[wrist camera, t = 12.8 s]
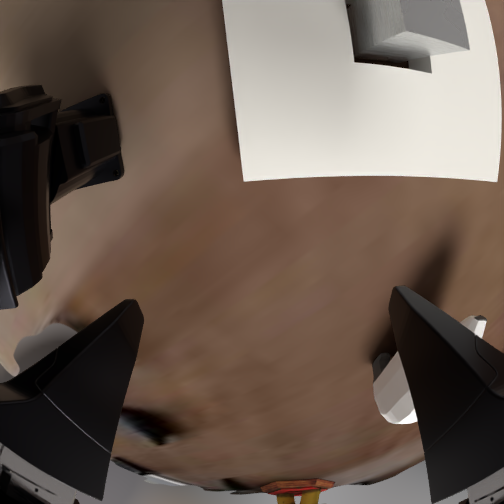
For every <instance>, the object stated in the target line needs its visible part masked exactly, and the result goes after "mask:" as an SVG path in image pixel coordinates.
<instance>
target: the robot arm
mask: <svg viewBox="0 0 504 504" xmlns="http://www.w3.org/2000/svg"><path fill="white" fill-rule="evenodd" d="M103 98H105V102H104V103H103V102H102V99H103ZM60 105H61V99H55V98H53V96H47V94H45V92H44V90H43V88H42V85H30V86H21V87H15V88H10V89H7V90H4V91H1V92H0V309H10V308H16V307H18V301H17V297H16V296H18V295H20V294H22V293H23V292H25V291H27V290H29V289H30V288H32V287H33V286H34V285H36V284H37V283H38V282H39V281H40V280H41V279H42V272H43V271H44V269H45V267H46V265H47V263H48V262H49V260H50V252H51V243H50V242H51V240H52V238H53V233H52V229H51V218H50V205H51V204H52V203H54V202H56V201H57V200H59V199H60V198H62V197H63V196H65V195H67V194H68V193H70V192H72V191H73V190H76V189H79V188H83V187H88V186H92V185H96V184H100V183H105V182H109V181H114V180H118V179H120V178H121V177H122V176H123V175H124V168H123V164H122V159H121V154H120V151H121V147H120V141H119V136H118V130H117V125H116V119H115V117H114V115H113V109H112V102H111V97H110V95H109V94H107V93H104V94H100V95H97V96H95V97H92V98H90V99H87V100H85V101H82V102H80V103H78V104H75V105H73V106H71V107H69V108H67V109H64V110H62V111H60V112H58V109H60ZM57 112H58V113H57ZM116 170H117V171H118V172H119V175H117V174H116V172H115V171H116ZM389 314H390V319H391V323H392V327H393V332H394V336H395V341H396V346H397V349H398V353H399V356H400V359H401V362H402V366H403V369H404V372H405V376H406V379H407V383H408V386H409V390H410V393H411V397H412V401H413V405H414V409H415V413H416V417H417V421H418V425H419V430H420V434H421V439H422V444H423V449H424V452H425V453H424V455H425V461H426V467H427V473H428V479H429V487H430V495H431V502H432V504H434V503H436V502H439V501H441V500H443V499H446V498H448V497H450V496H453V495H455V494H457V493H459V492H461V491H463V490H465V489H467V491H468V497H469V498H467V499H465V500H463V501H461V502H459V504H504V353H502V352H500V351H499V350H497V349H496V348H494V347H493V346H491V345H490V344H489V343H487V342H486V341H484V340H483V339H482V338H480V337H479V336H478V335H475V333H473V332H472V331H471V330H469V329H468V328H466V327H465V326H464V325H462V324H461V323H459V322H458V321H457V320H455V319H454V318H452V317H451V316H449V315H448V314H447V313H445V312H444V311H442V310H441V309H439V308H438V307H436V306H435V305H433V304H432V303H430V302H429V301H427V300H426V299H424V298H423V297H421V296H420V295H418V294H417V293H415V292H414V291H412V290H411V289H409V288H408V287H406V286H395V287H394V288H393V290H392V294H391V298H390V302H389ZM143 324H144V317H143V314H142V312H141V309H140V307H139V305H138V302H137V301H136V300H134V299H126V300H124V301H122V302H121V303H119V304H118V305H117V306H115V307H114V308H112V309H111V310H109V311H108V312H106V313H105V314H104V315H102V316H101V317H99V318H98V319H97V320H95V321H94V322H92V323H91V324H90V325H88V326H87V327H85V328H84V329H83V330H81V331H80V332H78V333H77V334H76V335H74V336H73V337H72V338H70V339H69V340H67V341H66V342H65V343H63V344H62V345H61V346H59V347H58V349H57V348H56V349H55V350H54V351H52V352H51V353H50V354H48V355H47V356H46V357H44V358H43V359H41V360H40V361H38V362H37V363H35V364H34V365H32V366H31V367H29V368H28V369H26V370H25V371H23V372H22V373H20V374H18V375H17V376H15V377H14V378H12V379H11V380H9V381H7V382H4V383H0V504H79V502H78V500H77V499H75V496H76V493H77V490H78V491H80V492H82V493H84V494H86V495H88V496H91V497H93V498H95V499H98V500H100V501H102V499H103V495H104V489H105V483H106V477H107V472H108V467H109V462H110V457H111V452H112V447H113V443H114V439H115V434H116V430H117V426H118V422H119V418H120V414H121V410H122V406H123V403H124V399H125V395H126V392H127V388H128V385H129V381H130V378H131V374H132V371H133V368H134V364H135V361H136V357H137V353H138V348H139V343H140V338H141V333H142V329H143Z"/></svg>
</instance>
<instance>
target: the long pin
mask: <svg viewBox="0 0 504 504" xmlns="http://www.w3.org/2000/svg"><path fill="white" fill-rule="evenodd" d="M347 15H348V21H349V27H350V33H351V40H352V48H353V56H354V58H362V59H372V60H380V61H387V62H394V63H400V62H405V61H409V60H414V59H419V58H424V57H429V56H434V55H440V54H446V53H453V52H461V51H469V50H470V46H469V40H468V34H467V29H466V24H465V20H464V15H463V11H462V7H461V3H460V0H356V1H355V2H354V3H353V4H352V5H351V6H350V7H349V8H348V9H347Z"/></svg>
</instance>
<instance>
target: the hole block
mask: <svg viewBox="0 0 504 504" xmlns="http://www.w3.org/2000/svg"><path fill="white" fill-rule="evenodd" d="M355 1H356V0H222V3H223V11H224V20H225V28H226V36H227V45H228V53H229V62H230V70H231V78H232V87H233V95H234V103H235V112H236V120H237V128H238V137H239V145H240V154H241V162H242V170H243V179H244V182H245V181H256V180H269V179H284V178H302V177H325V176H420V177H442V178H458V179H471V180H482V181H492V182H497V178H498V170H499V160H500V147H501V89H500V77H499V67H498V60H497V53H496V47H495V41H494V36H493V31H492V26H491V22H490V18H489V14H488V10H487V7H486V3H485V0H460V3H461V7H462V11H463V15H464V20H465V24H466V29H467V34H468V40H469V46H470V50H469V51H461V52H453V53H446V54H440V55H434V56H429V57H424V58H419V59H414V60H409V61H408V63H409V69H405V68H399V67H393V66H385V65H377V64H368V63H356V62H354V56H353V48H352V40H351V33H350V27H349V21H348V15H347V10H346V4H351V5H352V4H353V3H354V2H355Z"/></svg>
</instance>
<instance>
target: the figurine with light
mask: <svg viewBox="0 0 504 504" xmlns="http://www.w3.org/2000/svg"><path fill="white" fill-rule="evenodd" d="M334 483H335V482H332V481H327V480H322V479H318V478H317V479H307V480H294V481H275V482H273V483H270V484H268V485H265V486H262V487H260V488H261V490H262V491H263V492H264V493H268V494H271V495H277V502H278V504H295V501H294V496H302V497H301V502H300V504H318V499H319V494H320V492H322V491H325V490H327V489H329V488H332V487H333V485H334Z"/></svg>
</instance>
